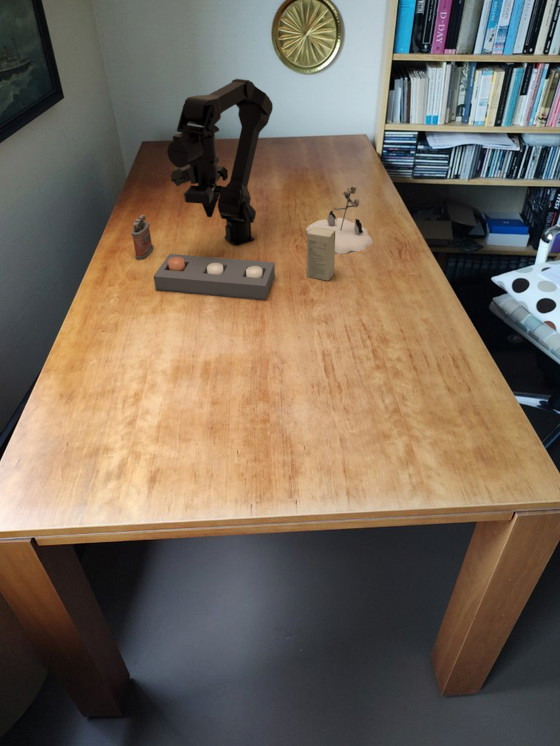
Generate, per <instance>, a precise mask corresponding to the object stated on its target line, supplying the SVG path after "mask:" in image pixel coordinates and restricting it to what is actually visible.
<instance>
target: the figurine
mask: <svg viewBox="0 0 560 746" xmlns="http://www.w3.org/2000/svg"><path fill="white" fill-rule="evenodd" d="M356 190H357V186H356V185H354V184H353V185H351V187H348V188H347V189H346V190H345V191H344V192H342V195H343V196H344V198H345V200H347V201H346V205H345V207H337V206H334V207H333V208H332V209H333V210H334V211H341V210H344V213H343V217H336V214H334V211H333V210H330V211H329V213H328V217H327V218H326V219H320V220H317V221H315V222H312V223H310V224H309V225H308V226H307V227H306V228H305V230H306V233H307V232H308V231H309V230H310V229H311V228H312V227H319V228H325V229H331V230H335V254H338V255H344V254H347V253H350V252H357V251H358V252H361V251H364V250H365V249H367V248H368V247H371V246H372V245H371V244H373V243H374V240H373V239H372V237H371V235H369V233H368V229H367V228H365V227H363V225H362V222H361V221H360V219H357V218H354V219H355V222H352V221H350V220H348V219H346V218H345V217H346V213H347V210H348V208H358V207H359V205H360V199H359V198H355V199H354V200H352V199H351V198H350V197H351V194H352V195H355V194H356ZM349 204H350V205H349ZM367 246H368V247H367ZM360 250H361V251H360Z"/></svg>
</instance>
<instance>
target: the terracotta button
mask: <svg viewBox="0 0 560 746" xmlns="http://www.w3.org/2000/svg"><path fill="white" fill-rule="evenodd" d="M168 265H169V270H171V271H184V270H185V263H184V259H183V258H182V257H172V258H170V259H169V260H168Z"/></svg>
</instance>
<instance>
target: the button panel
mask: <svg viewBox="0 0 560 746" xmlns="http://www.w3.org/2000/svg"><path fill="white" fill-rule="evenodd" d="M172 257H182V258H183V259H184V263H185V270H184V271H171V270H169V265H168V260H169V259H170V258H172ZM211 263H220V264H222V265H223V272H224V273H223V275H218V274H208V273H207V266H208V265H209V264H211ZM251 266H258V267H261V268H262V276H263V278H253V277H246V269H247V268H248V267H251ZM275 269H276V264H275V262H274V261H261V260H249V259H248V260H247V259H237V258H227V257H213V256H201V255H190V254H189V255H188V254H179V253H178V254H176V253H169V254H168V255H167V257H165V259H164V260H163V261H162V263H161V265H160V266H159V267H158V269H157V270H156V272H155V273H154V275H153V282H154V288H155V291H159V292H170V293H180V294H181V293H182V294H189V295H200V296H201V295H202V296H211V297H212V296H213V297H225V298H234V299H235V298H236V299H244V300H245V299H246V300H256V301H267V298H268V296H269V293H270V290H271V288H272V285H273V283H274V280H275V275H276V274H275V273H276V270H275Z"/></svg>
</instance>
